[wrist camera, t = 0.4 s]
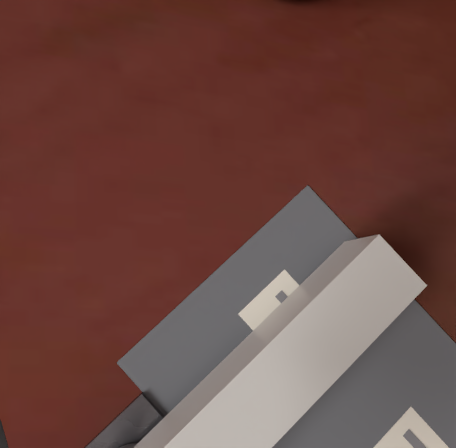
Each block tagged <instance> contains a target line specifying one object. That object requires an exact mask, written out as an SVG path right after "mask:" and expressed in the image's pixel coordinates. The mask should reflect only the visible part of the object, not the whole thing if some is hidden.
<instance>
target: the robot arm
mask: <svg viewBox="0 0 456 448" xmlns="http://www.w3.org/2000/svg"><path fill="white" fill-rule="evenodd" d="M0 448H8V444H7V441H6V437H5V434H4V430H3V427H2V423H1V420H0Z"/></svg>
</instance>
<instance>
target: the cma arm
mask: <svg viewBox="0 0 456 448" xmlns="http://www.w3.org/2000/svg"><path fill="white" fill-rule="evenodd" d="M426 286H427V285H426V284H425V283H424V282H423V281H422V280H421V279H420V277H419V276H418V275H417V274H416V273H415V272H414V271H413V270H412V269H411V268H410V267H409V266H408V265H407V264H406V262H405V261H404V260H403V259H402V258H401V257H400V256H399V255H398V254H397V253H396V252H395V251H394V250H393V249H392V248H391V246H390V245H389V244H388V243H387V242H386V241H385V240H384V239H383V238H382V237H381V236H380V235H374V236H369V237H364V238H359V239H354V240H349V241H345V242H344V243H343V244H342V245H341V246H339V247H338V248H337V249H336V250H335V251H334V252H333V253H332V254H331V255H330V256H329V257H328V258H327V259H326V260H325V261H324V262H323V263H322V264H321V265H320V266H319V267H318V268H317V269H316V270H315V271H314V272H313V273H312V274H311V275H310V276H309V277H308V278H307V279H306V280H305V281H304V282H303V283H302V284H301V285H300V286H299V287H297V288H296V289H295V290H294V291H293V292H292V293H291V294H290V295H289V296H288V297H287V298H286V299H285V300H284V301H283V302H282V303H281V304H280V305H279V306H278V307H277V308H276V309H275V310H274V311H273V312H272V313H271V314H270V315H269V316H268V317H267V318H266V319H265V320H264V321H263V322H262V323H261V324H260V325H259V326H258V327H256V328H255V329H254V330H253V331H252V332H251V333H250V334H249V335H248V336H247V337H246V338H245V339H244V340H243V341H242V342H241V343H240V344H239V345H238V346H237V347H236V348H235V349H234V350H233V351H232V352H231V353H230V354H229V355H228V356H227V357H226V358H225V359H224V360H223V361H222V362H221V363H220V364H219V365H218V366H217V367H215V368H214V369H213V370H212V371H211V372H210V373H209V374H208V375H207V376H206V377H205V378H204V379H203V380H202V381H201V382H200V383H199V384H198V385H197V386H196V387H195V388H194V389H193V390H192V391H191V392H190V393H189V394H188V395H187V396H186V397H185V398H184V399H183V400H182V401H181V402H180V403H179V404H178V405H177V406H176V407H174V408H173V409H172V410H171V411H170V412H169V413H168V414H167V415H166V416H165V417H164V418H163V419H162V420H161V421H160V422H159V423H158V424H157V425H156V426H155V427H154V428H153V429H152V430H151V431H150V432H149V433H148V434H147V435H146V436H145V437H144V438H143V439H142V440H141V441H140V442H139V443H132V444H127V445H124V446H122V447H120V448H272V447H273V446H274V445H275V444H276V443H277V442H278V441H279V440H280V439H281V438H282V437H283V436H284V435H285V433H286V432H287V431H288V430H289V429H290V428H291V427H292V426H293V425H294V424H295V423H296V422H297V421H298V420H299V419H300V418H301V417H302V416H303V415H304V414H305V413H306V412H307V411H308V409H309V408H310V407H311V406H312V405H313V404H314V403H315V402H316V401H317V400H318V399H319V398H320V397H321V396H322V395H323V394H324V393H325V392H326V391H327V390H328V389H329V388H330V387H331V385H332V384H333V383H334V382H335V381H336V380H337V379H338V378H339V377H340V376H341V375H342V374H343V373H344V372H345V371H346V370H347V369H348V368H349V367H350V366H351V365H352V364H353V363H354V361H355V360H356V359H357V358H358V357H359V356H360V355H361V354H362V353H363V352H364V351H365V350H366V349H367V348H368V347H369V346H370V345H371V344H372V343H373V342H374V341H375V340H376V339H377V337H378V336H379V335H380V334H381V333H382V332H383V331H384V330H385V329H386V328H387V327H388V326H389V325H390V324H391V323H392V322H393V321H394V320H395V319H396V318H397V317H398V316H399V315H400V313H401V312H402V311H403V310H404V309H405V308H406V307H407V306H408V305H409V304H410V303H411V302H412V301H413V300H414V299H415V298H416V297H417V296H418V295H419V294H420V293H421V292H422V291H423V289H424V288H425V287H426Z"/></svg>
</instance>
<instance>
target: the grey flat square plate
mask: <svg viewBox="0 0 456 448" xmlns="http://www.w3.org/2000/svg"><path fill="white" fill-rule="evenodd" d="M164 417H165V416H164V415H163V414H162V413H161V412H160V411H159V410H158V409H157V407H156V406H155V405H154V404H153V403H152V402H151V401H150V400H149V398H148V397H147V396H146V395H145V394H144V393H143V392H142V393H141V394H140V395H139V396H138V397H137V398H136V399H135V400H134V401H133V402H131V403H130V404H129V405H128V406H127V407H126V408H125V409H124V410H123V411H122V412H121V413H120V414H119V415H118V416H117V417H116V418H115V419H114V420H113V421H112V422H110V423H109V424H108V425H107V426H106V427H105V428H104V429H103V430H102V431H101V432H100V433H99V434H98V435H97V436H96V437H95V438H94V439H93V440H92V441H91V442H90V443H88V444H87V445H86V446H85V447H84V448H120V447H122V446H124V445H127V444H132V443H139V442H140V441H141V440H142V439H143V438H144V437H145V436H146V435H147V434H148V433H149V432H150V431H151V430H152V429H153V428H154V427H155V426H156V425H157V424H158V423H159V422H160V421H161V420H162V419H163V418H164Z"/></svg>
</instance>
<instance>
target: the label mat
mask: <svg viewBox="0 0 456 448" xmlns="http://www.w3.org/2000/svg"><path fill="white" fill-rule="evenodd" d="M354 239H358V238H357V237H356V236H355V235H354V234H353V233H352V232H351V231H350V230H349V229H348V228H347V227H346V226H345V225H344V223H343V222H342V221H341V220H340V219H339V218H338V217H337V216H336V215H335V214H334V213H333V212H332V211H331V209H330V208H329V207H328V206H327V205H326V204H325V203H324V202H323V201H322V200H321V199H320V198H319V197H318V196H317V194H316V193H315V192H314V191H313V190H312V189H311V188H310V187H309V186H308V185H307V186H306V187H305V188H304V189H303V190H302V191H301V192H300V193H299V194H298V195H297V196H296V197H295V198H293V199H292V200H291V201H290V202H289V203H288V204H287V205H286V206H285V207H284V208H283V209H282V210H281V211H279V212H278V213H277V214H276V215H275V216H274V217H273V218H272V219H271V220H270V221H269V222H268V223H267V224H265V225H264V226H263V227H262V228H261V229H260V230H259V231H258V232H257V233H256V234H255V235H254V236H253V237H251V238H250V239H249V240H248V241H247V242H246V243H245V244H244V245H243V246H242V247H241V248H240V249H239V250H237V251H236V252H235V253H234V254H233V255H232V256H231V257H230V258H229V259H228V260H227V261H226V262H225V263H223V264H222V265H221V266H220V267H219V268H218V269H217V270H216V271H215V272H214V273H213V274H212V275H211V276H209V277H208V278H207V279H206V280H205V281H204V282H203V283H202V284H201V285H200V286H199V287H198V288H197V289H195V290H194V291H193V292H192V293H191V294H190V295H189V296H188V297H187V298H186V299H185V300H184V301H183V302H181V303H180V304H179V305H178V306H177V307H176V308H175V309H174V310H173V311H172V312H171V313H170V314H169V315H167V316H166V317H165V318H164V319H163V320H162V321H161V322H160V323H159V324H158V325H157V326H156V327H155V328H153V329H152V330H151V331H150V332H149V333H148V334H147V335H146V336H145V337H144V338H143V339H142V340H141V341H139V342H138V343H137V344H136V345H135V346H134V347H133V348H132V349H131V350H130V351H129V352H128V353H127V354H125V355H124V356H123V357H122V358H121V359H120V360H119V361H118V362H117V364H118V365H119V366H120V367H121V368H122V369H123V370H124V372H125V373H126V374H127V375H128V376H129V377H130V378H131V379H132V381H133V382H134V383H135V384H136V385H137V386H138V387H139V388H140V390H141V391H142V392H143V393H144V394H145V395H146V396H147V397H148V398H149V400H150V401H151V402H152V403H153V404H154V405H155V406H156V407H157V409H158V410H159V411H160V412H161V413H162V414H163V415H164V416H166V415H167V414H168V413H169V412H170V411H171V410H172V409H173V408H174V407H176V406H177V405H178V404H179V403H180V402H181V401H182V400H183V399H184V398H185V397H186V396H187V395H188V394H189V393H190V392H191V391H192V390H193V389H194V388H195V387H196V386H197V385H198V384H199V383H200V382H201V381H202V380H203V379H204V378H205V377H206V376H207V375H208V374H209V373H210V372H211V371H212V370H213V369H214V368H215V367H217V366H218V365H219V364H220V363H221V362H222V361H223V360H224V359H225V358H226V357H227V356H228V355H229V354H230V353H231V352H232V351H233V350H234V349H235V348H236V347H237V346H238V345H239V344H240V343H241V342H242V341H243V340H244V339H245V338H246V337H247V336H248V335H249V334H250V333H251V332H252V331H253V330H254V329H255V328H256V327H258V326H259V325H260V324H261V323H262V322H263V321H264V320H265V319H266V318H267V317H268V316H269V315H270V314H271V313H272V312H273V311H274V310H275V309H276V308H277V307H278V306H279V305H280V304H281V303H282V302H283V301H284V300H285V299H286V298H287V297H288V296H289V295H290V294H291V293H292V292H293V291H294V290H295V289H296V288H297V287H299V286H300V285H301V284H302V283H303V282H304V281H305V280H306V279H307V278H308V277H309V276H310V275H311V274H312V273H313V272H314V271H315V270H316V269H317V268H318V267H319V266H320V265H321V264H322V263H323V262H324V261H325V260H326V259H327V258H328V257H329V256H330V255H331V254H332V253H333V252H334V251H335V250H336V249H337V248H338V247H339V246H341V245H342V244H343V243H344V242H345V241H349V240H354ZM272 448H456V343H455V342H454V341H453V340H452V339H451V338H450V337H449V336H448V335H447V334H446V333H445V332H444V331H443V330H442V328H441V327H440V326H439V325H438V324H437V323H436V322H435V321H434V320H433V319H432V318H431V317H430V316H429V315H428V313H427V312H426V311H425V310H424V309H423V308H422V307H421V306H420V305H419V304H418V303H417V302H416V301H415V300H413V301H412V302H411V303H410V304H409V305H408V306H407V307H406V308H405V309H404V310H403V311H402V312H401V313H400V315H399V316H398V317H397V318H396V319H395V320H394V321H393V322H392V323H391V324H390V325H389V326H388V327H387V328H386V329H385V330H384V331H383V332H382V333H381V334H380V335H379V336H378V337H377V339H376V340H375V341H374V342H373V343H372V344H371V345H370V346H369V347H368V348H367V349H366V350H365V351H364V352H363V353H362V354H361V355H360V356H359V357H358V358H357V359H356V360H355V361H354V363H353V364H352V365H351V366H350V367H349V368H348V369H347V370H346V371H345V372H344V373H343V374H342V375H341V376H340V377H339V378H338V379H337V380H336V381H335V382H334V383H333V384H332V385H331V387H330V388H329V389H328V390H327V391H326V392H325V393H324V394H323V395H322V396H321V397H320V398H319V399H318V400H317V401H316V402H315V403H314V404H313V405H312V406H311V407H310V408H309V409H308V411H307V412H306V413H305V414H304V415H303V416H302V417H301V418H300V419H299V420H298V421H297V422H296V423H295V424H294V425H293V426H292V427H291V428H290V429H289V430H288V431H287V432H286V433H285V435H284V436H283V437H282V438H281V439H280V440H279V441H278V442H277V443H276V444H275V445H274V446H273V447H272Z"/></svg>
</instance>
